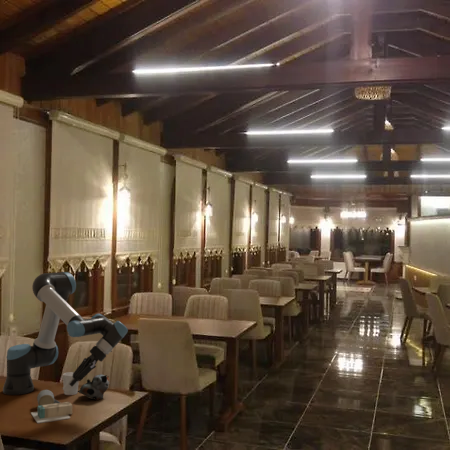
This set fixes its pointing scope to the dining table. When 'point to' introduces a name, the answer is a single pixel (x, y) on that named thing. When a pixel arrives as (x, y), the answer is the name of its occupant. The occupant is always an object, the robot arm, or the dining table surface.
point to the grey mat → (49, 419)
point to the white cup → (65, 380)
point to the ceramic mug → (46, 398)
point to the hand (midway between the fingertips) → (64, 390)
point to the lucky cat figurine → (95, 387)
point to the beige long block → (54, 410)
